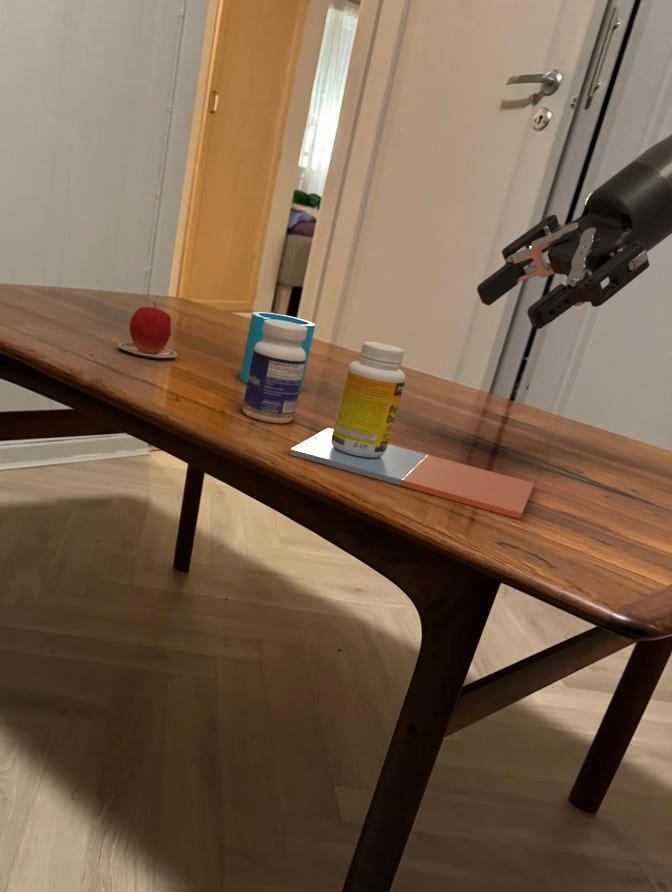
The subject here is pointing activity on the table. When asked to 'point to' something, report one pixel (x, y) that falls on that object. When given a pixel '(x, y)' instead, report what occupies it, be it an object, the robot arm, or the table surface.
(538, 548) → the table surface
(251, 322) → the mug
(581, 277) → the robot arm
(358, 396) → the supplement bottle
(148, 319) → the apple
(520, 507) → the sorting board
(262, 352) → the pill bottle
